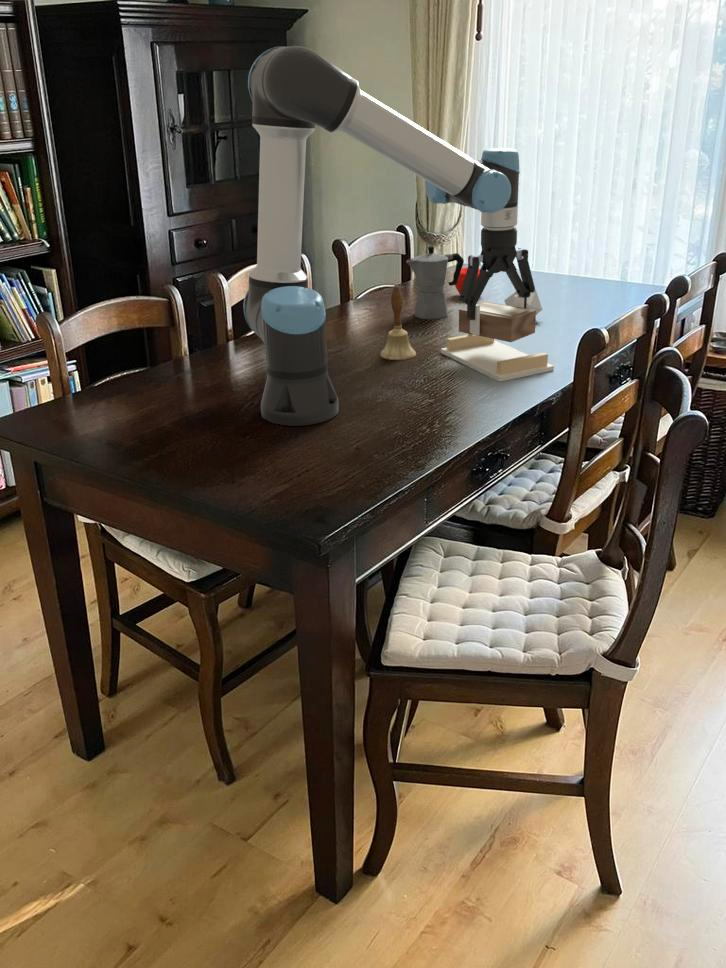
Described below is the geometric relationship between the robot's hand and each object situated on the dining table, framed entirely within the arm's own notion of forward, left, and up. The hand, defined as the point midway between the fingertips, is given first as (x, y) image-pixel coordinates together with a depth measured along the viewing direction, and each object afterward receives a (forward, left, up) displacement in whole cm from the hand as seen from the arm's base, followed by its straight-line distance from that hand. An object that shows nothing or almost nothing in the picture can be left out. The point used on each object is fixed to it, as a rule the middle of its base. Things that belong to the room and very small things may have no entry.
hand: (496, 329), depth 198 cm
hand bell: (-16, +16, -7) cm, 24 cm away
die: (+25, +25, -7) cm, 36 cm away
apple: (+27, +54, -7) cm, 61 cm away
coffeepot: (+9, +42, -7) cm, 44 cm away
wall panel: (0, 0, -7) cm, 7 cm away
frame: (0, 0, -1) cm, 1 cm away
